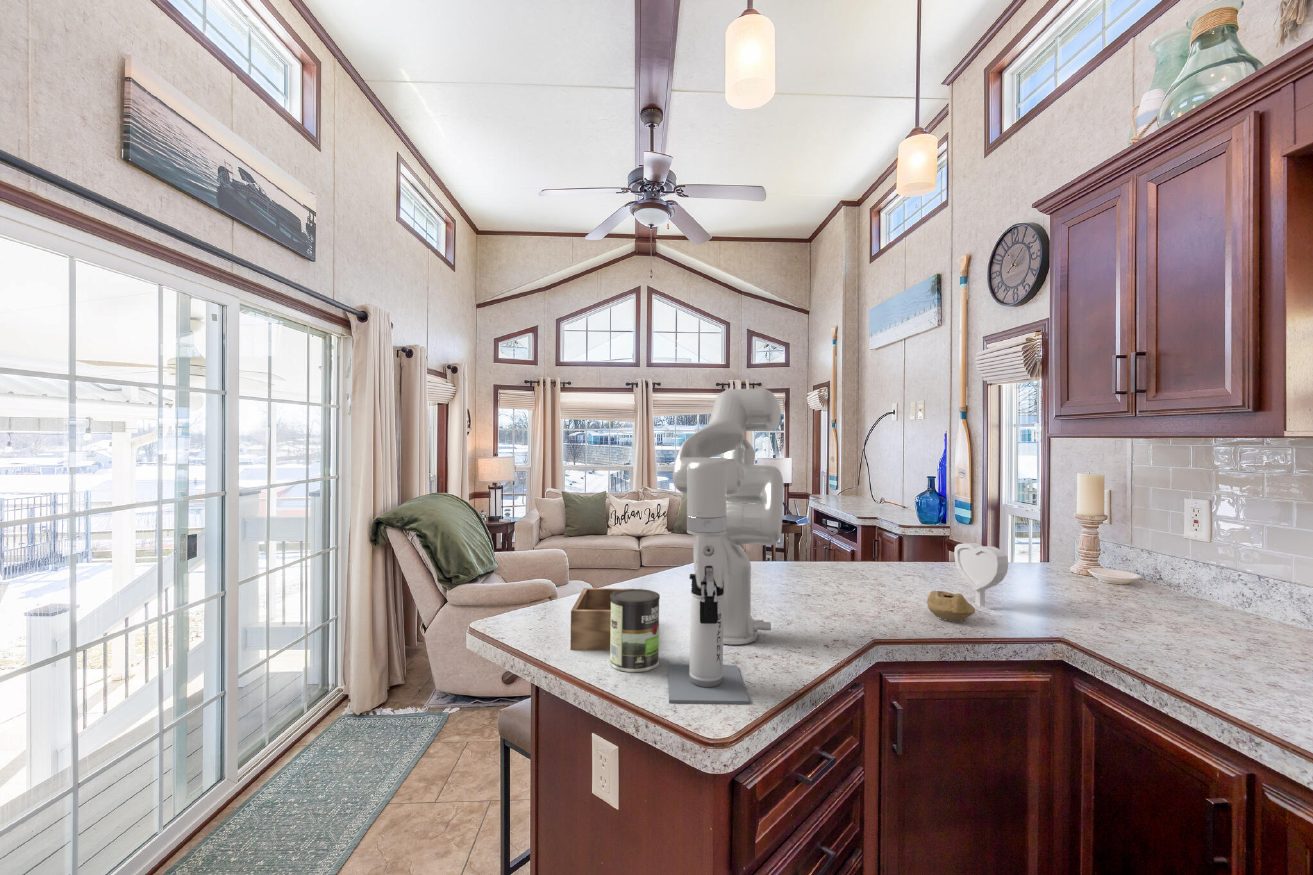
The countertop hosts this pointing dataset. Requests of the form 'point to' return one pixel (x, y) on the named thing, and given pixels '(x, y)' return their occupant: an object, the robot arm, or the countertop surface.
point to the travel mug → (706, 641)
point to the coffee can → (634, 630)
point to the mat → (691, 693)
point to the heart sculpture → (981, 567)
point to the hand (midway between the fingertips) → (706, 614)
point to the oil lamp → (949, 606)
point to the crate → (592, 620)
